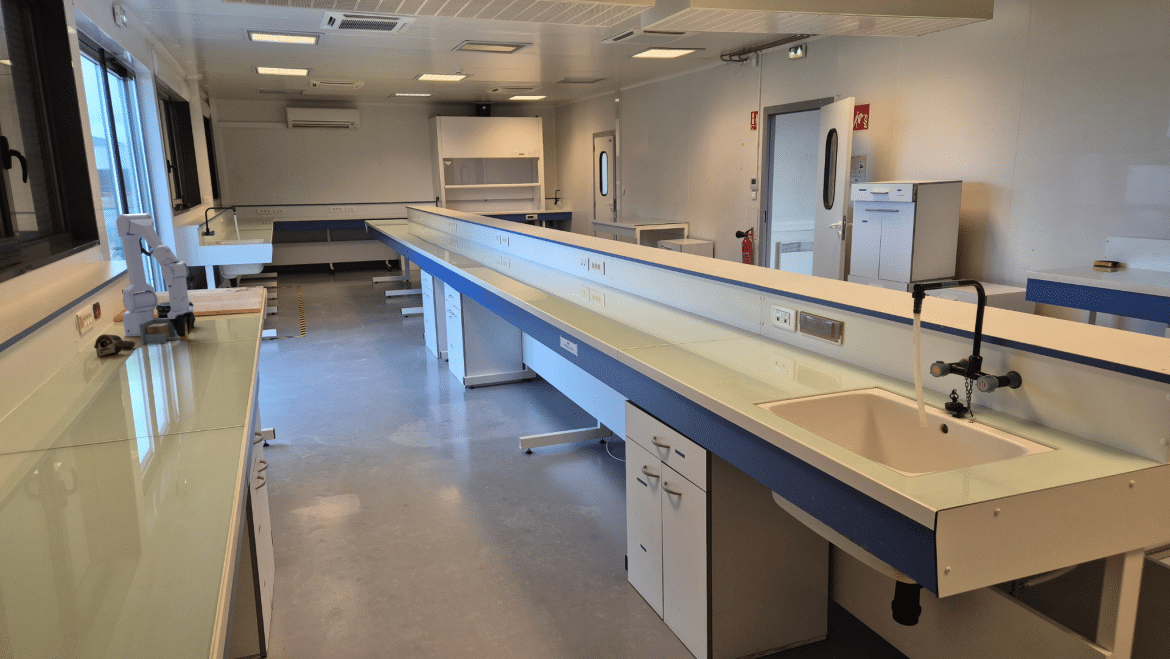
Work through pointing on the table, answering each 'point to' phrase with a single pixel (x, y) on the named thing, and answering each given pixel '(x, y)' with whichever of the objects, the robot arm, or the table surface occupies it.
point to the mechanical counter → (111, 344)
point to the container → (166, 308)
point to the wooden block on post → (165, 331)
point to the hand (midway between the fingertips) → (183, 335)
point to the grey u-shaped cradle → (156, 337)
